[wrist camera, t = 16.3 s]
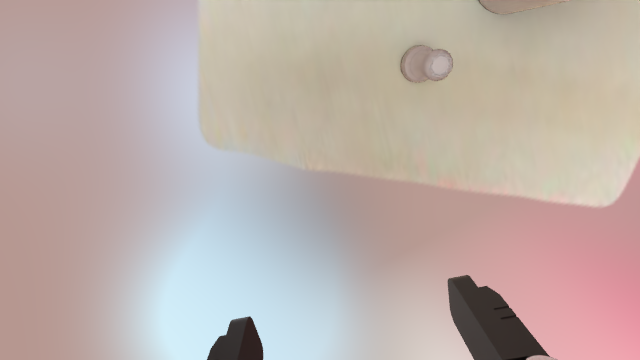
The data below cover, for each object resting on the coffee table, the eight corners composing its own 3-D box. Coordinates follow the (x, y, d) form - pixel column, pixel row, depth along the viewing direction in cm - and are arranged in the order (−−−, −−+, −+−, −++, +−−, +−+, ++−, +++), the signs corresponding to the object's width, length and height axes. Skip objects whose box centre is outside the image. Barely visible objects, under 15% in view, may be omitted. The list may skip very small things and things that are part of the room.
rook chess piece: (395, 53, 40) (415, 52, 33) (429, 39, 40) (457, 35, 32) (405, 87, 42) (426, 93, 34) (437, 74, 41) (466, 78, 34)
